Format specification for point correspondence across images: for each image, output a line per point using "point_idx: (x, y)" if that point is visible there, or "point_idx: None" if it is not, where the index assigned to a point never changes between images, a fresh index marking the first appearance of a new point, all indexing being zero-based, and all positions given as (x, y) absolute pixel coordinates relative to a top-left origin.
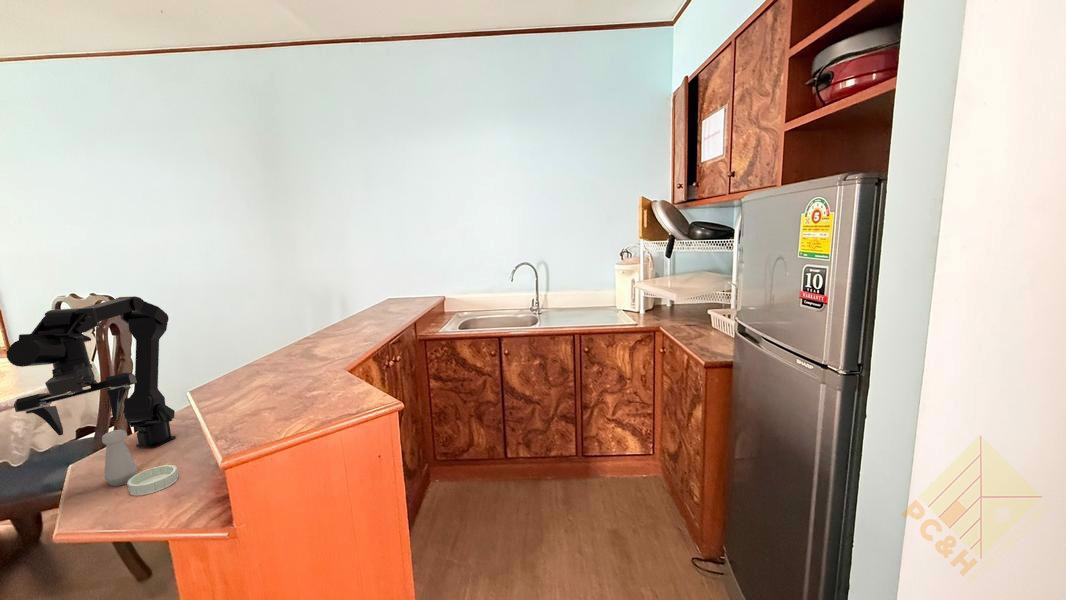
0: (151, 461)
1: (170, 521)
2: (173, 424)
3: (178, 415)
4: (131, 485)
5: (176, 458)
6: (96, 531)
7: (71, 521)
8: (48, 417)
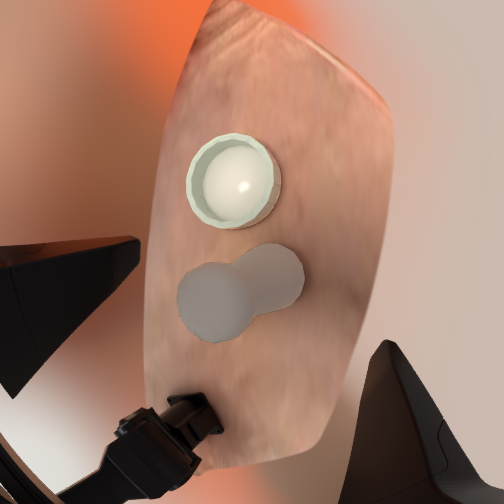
0: None
1: (255, 26)
2: None
3: None
4: (269, 157)
5: None
6: (346, 69)
7: (384, 149)
8: (443, 456)
